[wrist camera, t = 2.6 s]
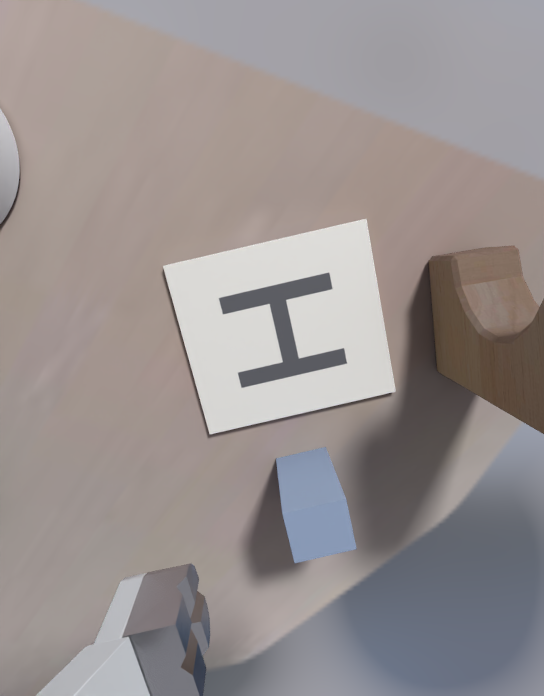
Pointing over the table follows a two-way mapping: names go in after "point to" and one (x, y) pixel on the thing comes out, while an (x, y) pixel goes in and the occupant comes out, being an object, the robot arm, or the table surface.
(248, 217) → the table surface
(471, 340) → the decorative block
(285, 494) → the slate-blue block
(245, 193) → the table surface
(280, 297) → the letter board
